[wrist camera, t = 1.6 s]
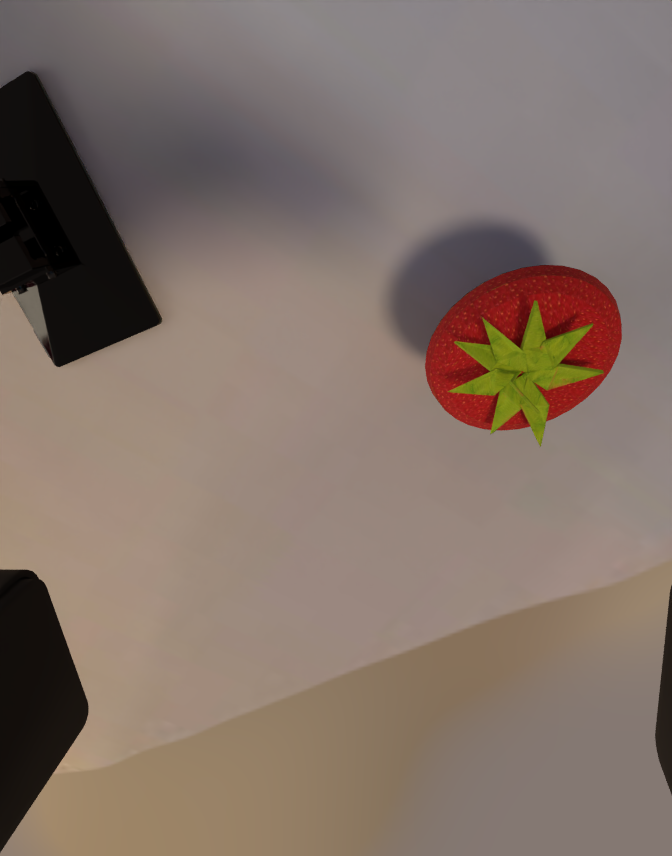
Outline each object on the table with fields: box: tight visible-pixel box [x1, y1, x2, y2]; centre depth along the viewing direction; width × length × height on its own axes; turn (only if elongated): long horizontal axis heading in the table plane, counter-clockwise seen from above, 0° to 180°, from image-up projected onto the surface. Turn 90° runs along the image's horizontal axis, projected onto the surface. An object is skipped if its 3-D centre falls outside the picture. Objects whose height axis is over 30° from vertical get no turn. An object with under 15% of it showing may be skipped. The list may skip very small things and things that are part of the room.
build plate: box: [0, 71, 162, 367], centre depth 28 cm, size 12×7×5 cm, turn 23°
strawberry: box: [425, 265, 622, 447], centre depth 23 cm, size 6×8×10 cm
